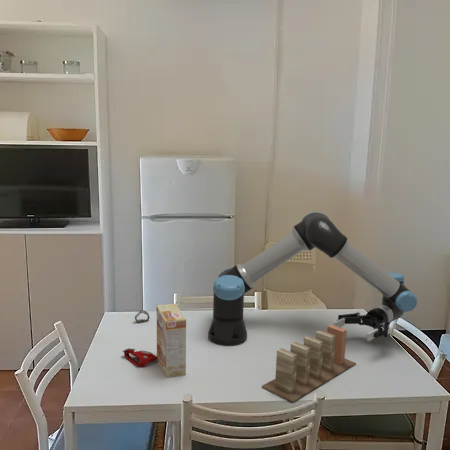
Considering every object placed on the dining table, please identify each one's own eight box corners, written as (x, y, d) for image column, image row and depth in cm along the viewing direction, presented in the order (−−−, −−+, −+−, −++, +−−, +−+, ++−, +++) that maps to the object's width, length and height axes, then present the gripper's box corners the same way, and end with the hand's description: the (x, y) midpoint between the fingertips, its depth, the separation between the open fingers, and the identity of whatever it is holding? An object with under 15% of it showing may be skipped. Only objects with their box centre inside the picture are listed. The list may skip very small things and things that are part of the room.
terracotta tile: (340, 364, 162) (342, 331, 160) (325, 358, 166) (327, 326, 164) (344, 362, 163) (346, 329, 161) (329, 356, 168) (331, 324, 165)
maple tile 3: (304, 385, 147) (306, 350, 145) (288, 378, 151) (290, 343, 149) (308, 383, 149) (310, 347, 147) (293, 376, 153) (295, 341, 151)
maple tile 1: (329, 371, 157) (331, 337, 155) (314, 365, 161) (316, 332, 159) (333, 369, 159) (335, 335, 156) (318, 362, 163) (320, 330, 160)
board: (292, 403, 138) (292, 401, 138) (261, 387, 147) (261, 385, 147) (355, 364, 163) (356, 362, 163) (326, 352, 172) (326, 351, 172)
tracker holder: (158, 351, 168) (157, 357, 158) (155, 363, 167) (154, 370, 157) (124, 344, 166) (122, 350, 156) (121, 356, 166) (118, 363, 156)
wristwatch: (150, 321, 196) (150, 310, 195) (136, 324, 193) (136, 313, 192) (147, 319, 199) (147, 307, 198) (133, 321, 196) (133, 310, 195)
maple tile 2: (317, 378, 152) (319, 343, 150) (301, 371, 156) (303, 337, 154) (321, 375, 154) (323, 341, 151) (306, 369, 158) (308, 335, 156)
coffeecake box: (155, 357, 165) (155, 304, 161) (175, 355, 167) (176, 302, 163) (164, 378, 151) (165, 321, 147) (186, 375, 153) (187, 318, 149)
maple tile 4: (290, 393, 142) (292, 357, 140) (275, 386, 146) (276, 350, 144) (295, 391, 144) (297, 354, 142) (279, 383, 148) (281, 348, 146)
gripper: (409, 335, 176) (382, 352, 162) (350, 317, 194) (321, 330, 179) (411, 316, 175) (384, 332, 160) (351, 299, 192) (322, 312, 178)
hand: (350, 331), depth 170 cm, fingers open, 13 cm apart
